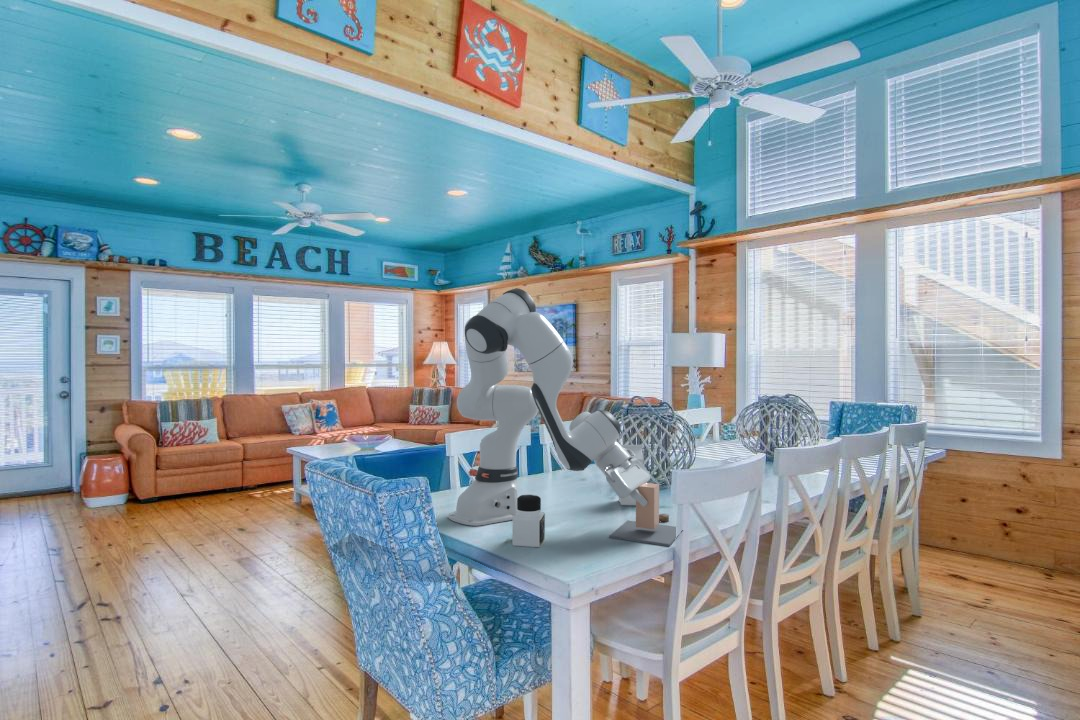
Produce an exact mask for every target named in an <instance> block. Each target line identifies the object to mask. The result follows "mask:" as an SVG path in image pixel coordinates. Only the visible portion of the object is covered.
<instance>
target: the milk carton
mask: <svg viewBox="0 0 1080 720" xmlns="http://www.w3.org/2000/svg"><path fill="white" fill-rule="evenodd" d="M620 445H621V446H622V447H623V448H625V449H627V450H631V451H632V452H633V453H634V454H635V457H634V458H636V459H637V460H638V461H639V462H640V463H641V464H642V465H643V466H644V461H645V460H644V454H643V445H642V444H620ZM618 501H619V504H620V505H621V506H636V500H635V499H633V498H632V497H631V496H630V495H629V496H627V497H626V498H624V499H622V498H620V497H619V496H618Z"/></svg>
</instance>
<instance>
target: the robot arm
mask: <svg viewBox="0 0 1080 720" xmlns="http://www.w3.org/2000/svg"><path fill="white" fill-rule="evenodd" d="M536 310H537V307H536V303H535V301H534V299H533V298H532V296H531V295H530V294H529V293H528V292H526V290H524V289H520V288H513V289H509V290H507V291H505V292H503V293H502V295H499V296H498V297H495V298H494V299H493V300H491V301H490V302H489V303H487V305H486V306H484V307H483V308H481V310H480V311H479V312H478V313H477V314H476V315H473V316H472V317H470V318H469V319H468V320H467V321H466V323H465V324H464V330H463V331H464V343H465V344H464V345H465V346H464V347H465V349H466V350H465V351H466V354H467V359H468V364H469V369H470V380H469V381H468V383H467V385H465V386H463V388H462V389H460V391H459V393H458V394H457V397H456V408H457V410H458V412H459V414H460V415H461V416H462V417H463V418H465V419H470V420H475V421H490V422H491V421H493V422H498V425H497V428H496V430H494V431H492V432H489V433H487V434H486V435H485V436H484V437H483V438H482V439H481V441H480V442H479V443H480V444H479V466H478V468H477V470H476V469H474V468H470V469H469V470H468V475H469V476H471V477H474V480H473V481H472V483H471V484H469V486H468V487H467V488H466V489H465V490H464V491H463V492H462V493H461V494H459V496H458V497H457V500H456V506H455V507H456V509H455V511H451V512H449V513H448V519H449V520H451V521H453V522H455V523H458V524H460V525H461V524H462V525H466V526H472V527H473V526H475V527H478V526H484V525H490V524H496V523H502V522H506V521H507V522H508V521H511V520H512V521H513V517H514V516H515V515H516V514H517V498H518V497H519V491H518V484H517V479H518V477H519V476H518V473H519V472H518V471H519V470H518V466H517V451H518V450H517V449H518V441H519V438H520V434H521V433H522V431H523V429H524V428H525V426H527V424H528V423H530V422H531V421H532V420H533V419H535V417H536V416H538V413H539V414H540V417H541V418H542V421H543V423H544V425H545V428H546V430H547V432H548V434H549V436H550V438H551V441H552V444H553V447H554V450H555V452H556V454H557V457H558V460H559V461H560V463H561V464H562V466H564V467H565V468H566V469H567V470H568V471H573V472H582V471H585V470H586V469H587V467H588V466H590V465H591V464H592V462H594V464H595V466H596V467H597V468H598V469H599V471H601V473H602V474H603V475H604V476H605V480H606V481H607V483H608V485H609V486H610V488H612V490H613V491H614V492H615V494H616V495H617V496H618V498H619V497H620V498H622V499H624V498H626V497H627V496H629V495H630V496H631V497H632V498H633V499H635V500H636V501H638V502H639V503H640V504H641V505H642V506H645V505H646V504H647V503H648V500H647V499H646V498H645V497H643V496H642V495H641V494H640V493H639V491H638V490H637V488H638V487H639V486H640V485H641V484H643V483H649V481H650V479H651V475H650V473H649V471H648V470H647V469H646V468H645V467H644V464H643V465H642V464H641V463H640V462H639V461H638V460H637V459H636V458H634V457H635V454H634V453H633V452H632V451H631V450H627V449H625V448H623V447H622V446H621V445H622V444H621V443H619V442H618V441H617V440H618V439H619V437H620V436H621V429H622V428H621V427H622V426H621V423H620V422H619V421H618V420H617V418H616V417H615V416H614V415H613V414H612V413H611V412H610V411H607V410H603V409H602V410H601V409H598V410H596V411H594V412H592V413H591V412H589V411H583V412H581V413H579V414H578V415H576V416H575V418H573V419H572V421H571V422H570V424H569V432H568V430H567V428H566V426H565V424H564V422H563V419H562V417H561V414H560V413H559V411H558V407H557V402H558V401H557V400H558V397H559V395H560V392H561V391H562V389H563V387H564V386H565V384H566V383H567V381H568V380H569V377H570V376H571V373H572V369H573V366H574V365H573V364H574V363H573V362H574V358H573V355H572V352H571V351H570V349H569V347H568V345H567V344H566V342H565V341H564V339H563V338H562V336H561V335H560V333H559V332H558V331H557V330H556V328H555V327H554V326H553V324H552V323H551V322H550V321H549V320H548V319H547V318H546V317H545V316H544V315H543V314H541V312H537V311H536ZM508 345H509V346H513V347H515V348H516V349H517V350H518V351H519V352H520V354H521V356H522V357H523V359H524V360H525V362H526V364H527V365H528V366H529V368H530V371H531V373H532V374H531V375H532V379H533V380H532V381H533V382H532V386H531V387H530V386H525V385H520V384H499V383H501V382H502V381H503V380H504V379H506V378H507V376H508V373H509V372H510V363H509V360H508V359H509V358H508V353H507V349H508Z"/></svg>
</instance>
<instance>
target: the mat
mask: <svg viewBox="0 0 1080 720" xmlns="http://www.w3.org/2000/svg"><path fill="white" fill-rule="evenodd" d="M676 527H677V526H674V525H673V526H672V525H666V524H660V523H659V525H658V526H657V527H656V528H655V529H647V528H640V527H636V520H626V521H625V522H623V523H622V525H620V526H619V527H618V528H617V529H616V530H614V531H613V532H612V533H611V534H609V535H608V536H609V538H610V539H614V538H615V540H621V539H622V541H628V540H629V542H635V541H636V543H642V542H644V543H643V544H649V543H650V544H649V545H657V546H665V547H671V546H672V544H674V542H675V541H676V540H675V538H676ZM676 539H677V538H676ZM637 541H638V542H637Z"/></svg>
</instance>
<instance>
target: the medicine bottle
mask: <svg viewBox="0 0 1080 720" xmlns="http://www.w3.org/2000/svg"><path fill="white" fill-rule="evenodd" d="M541 502H542V498H541V497H540V496H538V495H537V494H530V493H527V494H522V495H520V496H519V495H518V498H517V514H516V515H515V516H514V517H513V520H512V546H513V547H527V548H540V547H541V546H542V544H543V542H544V541H545V539H546V537H545V534H546V533H545V532H546V530H545V527H546V526H545V524H546V522H545V521H546V520H545V519H546V513H545V511H541V510H542V509H541V507H542V506H541V505H542V503H541Z"/></svg>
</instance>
